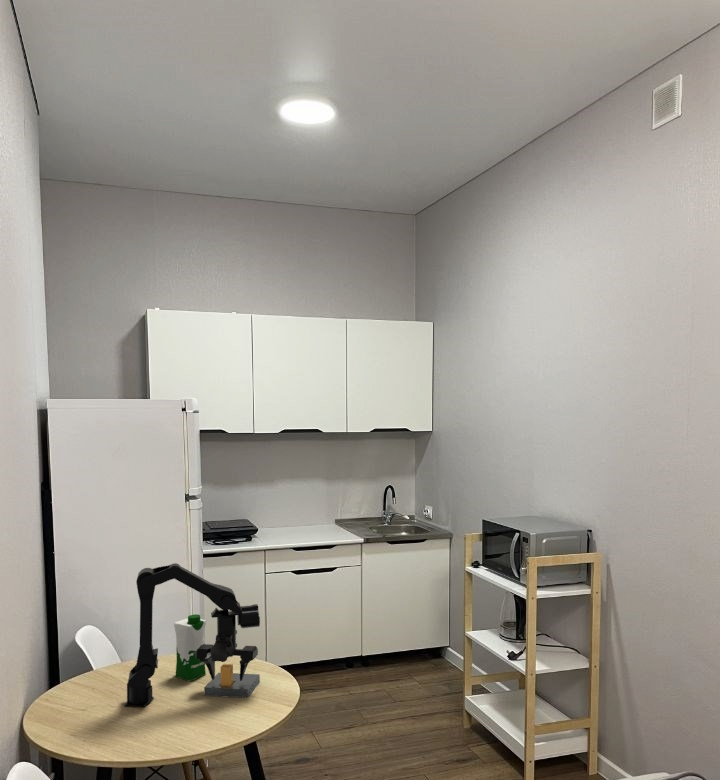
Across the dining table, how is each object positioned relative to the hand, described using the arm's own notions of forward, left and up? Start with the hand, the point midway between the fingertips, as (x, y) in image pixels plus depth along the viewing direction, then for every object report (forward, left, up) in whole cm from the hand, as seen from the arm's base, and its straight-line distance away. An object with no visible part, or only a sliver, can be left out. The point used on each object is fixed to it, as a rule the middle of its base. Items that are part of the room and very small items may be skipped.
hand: (227, 679), depth 210 cm
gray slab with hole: (+1, +2, -4) cm, 4 cm away
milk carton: (-17, +11, -4) cm, 21 cm away
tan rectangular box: (0, 0, -4) cm, 4 cm away
